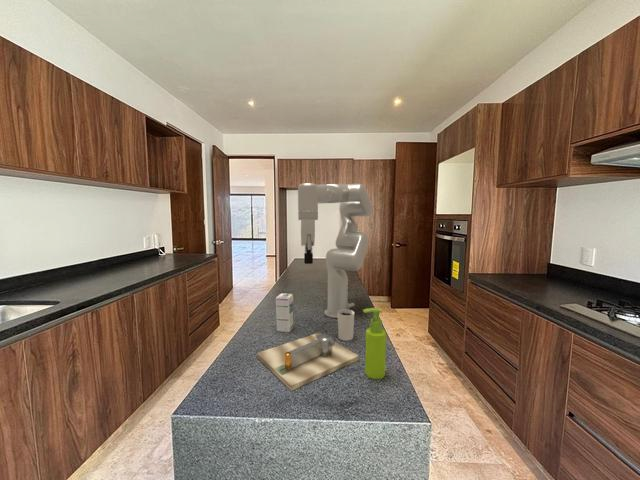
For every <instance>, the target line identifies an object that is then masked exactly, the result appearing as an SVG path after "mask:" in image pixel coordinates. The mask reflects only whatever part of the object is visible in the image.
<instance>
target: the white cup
mask: <svg viewBox="0 0 640 480" xmlns="http://www.w3.org/2000/svg"><path fill="white" fill-rule="evenodd" d="M337 313H338V318H337V332H338V333H337V336H338V339H339V340H341V341H347V342H348V341H351V340H353V339H354V327H355V311H354V310H352V309H349V310H347V309H343V310H339V311H338V312H337Z"/></svg>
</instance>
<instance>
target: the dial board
mask: <svg viewBox="0 0 640 480" xmlns="http://www.w3.org/2000/svg"><path fill="white" fill-rule="evenodd" d="M316 334H320V335H322V334H323V333H321V332H317V333H313V334H311V335H310V334H309V335H307V336H304V337H300V338H299V339H296V340H292V341H290V342H289V341H288V342H287V343H283V344H280V345H278V346H274V347H271V348H268V349H265V350H262V351H259V352H257V353H256V358H257V359H258V360H259V361H260V362H261V363H262V364H263V365H264V366H265V367H266V368H267V369H268V370H270V372H271V373H272V374H274V375H275V376H276V378H278V380H280V381H281V382H282V384H284V385H285V386H286V387H287V388H288V389H289V390H290V391H291V392H293V391H294V390H297V389H298V388H301V387H303V386H306V385H307V384H309V383H311V382H314V381H316V380H319V379H321V378H323V377H324V376H327V375H329V374H332V373H334V372H335V371H337V370H340V369H342V368H344V367H347V366H349V365H352V364H354V363H356V362H358V361H360V355H359V354H357V353H355V352H353V351H351V350H350V349H348V348H347V347H345V346H343V345H341V344H339V343H338V342H336V341H334V340H333V339H332V341H334V342H335V345H334V346H332V354H331V355H330V356H320V355H318V356H316V357H314V358H312V359H310V360H307V361H305V362H303V363H301V364H299V365H297V366H294V367H292V368H291V369H285V352H289V351H291V350H294V349H296V348H298V347H301V346H303V345H306V344H308V343H311V342H313V341H316V340H317V338H316Z"/></svg>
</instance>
